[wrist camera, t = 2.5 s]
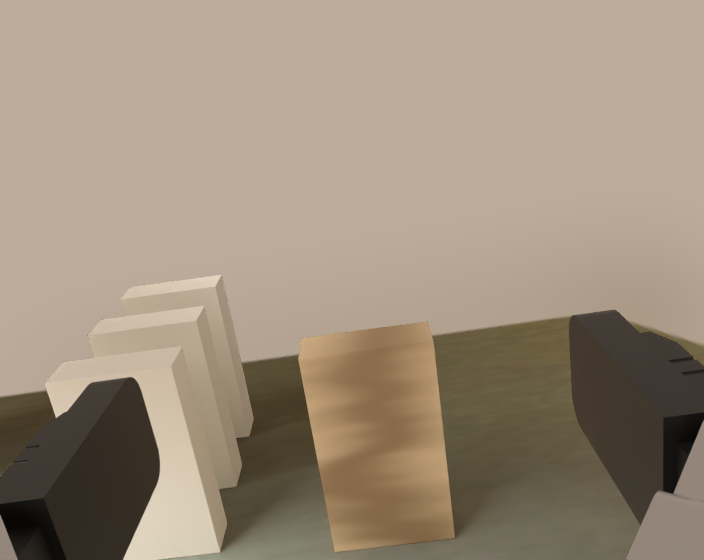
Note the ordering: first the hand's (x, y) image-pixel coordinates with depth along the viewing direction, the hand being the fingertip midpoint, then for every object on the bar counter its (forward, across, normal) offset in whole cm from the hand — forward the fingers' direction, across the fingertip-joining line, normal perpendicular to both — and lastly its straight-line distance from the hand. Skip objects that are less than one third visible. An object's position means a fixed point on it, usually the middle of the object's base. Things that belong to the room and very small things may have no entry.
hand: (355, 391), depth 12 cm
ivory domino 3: (+13, +10, +13) cm, 21 cm away
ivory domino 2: (+17, +10, +13) cm, 24 cm away
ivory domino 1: (+22, +10, +13) cm, 27 cm away
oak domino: (+12, 0, +13) cm, 18 cm away
